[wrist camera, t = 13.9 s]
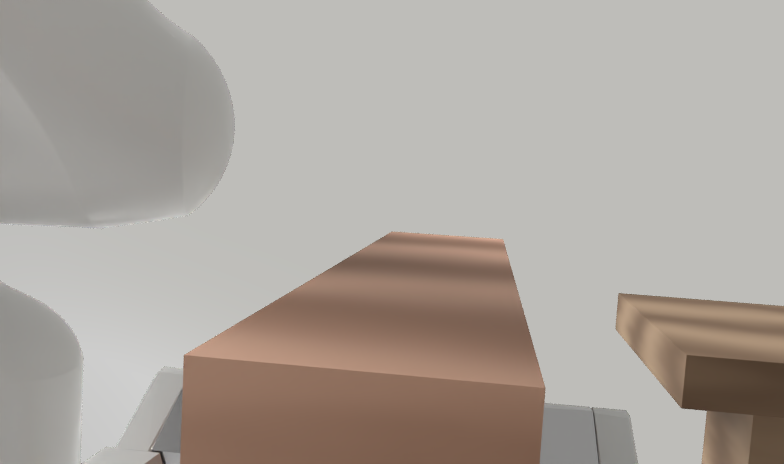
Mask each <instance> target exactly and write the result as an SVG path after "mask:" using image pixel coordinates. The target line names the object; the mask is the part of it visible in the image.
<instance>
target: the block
mask: <svg viewBox="0 0 784 464" xmlns="http://www.w3.org/2000/svg"><path fill="white" fill-rule="evenodd" d="M544 399H545V385H544V382H543V378H542V374H541V371H540V367H539V364H538V360H537V357H536V354H535V350H534V347H533V343H532V340H531V336H530V332H529V329H528V326H527V322H526V319H525V315H524V311H523V308H522V304H521V301H520V297H519V294H518V290H517V287H516V283H515V280H514V276H513V273H512V269H511V266H510V262H509V259H508V255H507V252H506V248H505V244H504V241H503V239H493V238H477V237H463V236H449V235H433V234H419V233H405V232H391V233H389V234H387V235H386V236H384V237H382V238H380V239H379V240H377V241H375V242H374V243H372V244H370V245H369V246H367V247H365V248H364V249H362V250H360V251H359V252H357V253H355V254H354V255H352V256H350V257H348V258H347V259H345V260H343V261H342V262H340V263H338V264H337V265H335V266H333V267H332V268H330V269H328V270H327V271H325V272H323V273H322V274H320V275H318V276H316V277H315V278H313V279H311V280H310V281H308V282H306V283H305V284H303V285H301V286H300V287H298V288H296V289H294V290H293V291H291V292H289V293H288V294H286V295H284V296H283V297H281V298H279V299H278V300H276V301H274V302H273V303H271V304H269V305H268V306H266V307H264V308H262V309H261V310H259V311H257V312H256V313H254V314H252V315H251V316H249V317H247V318H246V319H244V320H242V321H241V322H239V323H237V324H236V325H234V326H232V327H231V328H229V329H227V330H225V331H224V332H222V333H220V334H219V335H217V336H215V337H214V338H212V339H210V340H209V341H207V342H205V343H204V344H202V345H200V346H198V347H197V348H195V349H193V350H192V351H190V352H188V353H187V354H185V355H184V366H183V393H182V421H181V448H180V464H540V451H541V438H542V425H543V412H544Z"/></svg>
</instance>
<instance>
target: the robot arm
mask: <svg viewBox="0 0 784 464" xmlns="http://www.w3.org/2000/svg"><path fill="white" fill-rule="evenodd" d="M234 120H235V119H234V111H233V104H232V100H231V96H230V92H229V89H228V86H227V84H226V81H225V79H224V77H223V75H222V73H221V71H220V69H219V67H218V65H217V64H216V62H215V61H214V59H213V58H212V56H211V55H210V54H209V52H208V51H207V50H206V49H205V47H204V46H203V45H202V44H201V43H200V42H199V41H198V40H197V39H196V38H195V37H194V36H192V35H191V34H189V33H187V32H186V31H185V30H183V29H182V28H180V27H179V26H177V25H176V24H175V23H173V22H172V21H171V20H169V19H168V18H167V17H165V16H164V15H163V14H162V13H161V12H160V11H159V10H158V9H156V8H155V7H154V6H153V5H152V4H151V3H150V2H149V1H147V0H0V224H13V225H37V226H59V227H82V228H106V227H114V226H123V225H130V224H138V223H146V222H152V221H158V220H164V219H170V218H177V217H183V216H188V215H190V214H191V213H192V212H194V211H195V210H196V209H197V208H198V207H199V206H200V205H201V204H202V203H203V202H204V201H205V200H206V199H207V198H208V197H209V196H210V194H211V193H212V192H213V190H214V189H215V188H216V186H217V184H218V183H219V181H220V180H221V178H222V176H223V174H224V172H225V170H226V167H227V165H228V162H229V159H230V156H231V151H232V147H233V142H234V130H235V129H234V127H235V126H234V125H235V123H234V122H235V121H234ZM82 390H83V353H82V350H81V347H80V344H79V342H78V339H77V337H76V336H75V334H74V332H73V331H72V329H71V328H70V326H69V325H68V324H67V323H66V322H65V320H64V319H63V318H61V316H60V315H59V314H57V313H56V312H55V311H54V310H53V309H51V308H50V307H49V306H47V305H45V304H44V303H42V302H40V301H39V300H37V299H35V298H33V297H31V296H29V295H27V294H24V293H22V292H20V291H18V290H16V289H14V288H12V287H10V286H8V285H6V284H5V283H3V282H2V281H0V464H180V448H181V421H182V393H183V369H182V368H173V367H163V368H162V369H161V370H160V371H159V372H158V373H157V374H156V375H155V377H154V379H153V381H152V382H151V384H150V386H149V388H148V390H147V391H146V393H145V395H144V397H143V399H142V400H141V402H140V404H139V406H138V407H137V409H136V411H135V413H134V415H133V417H132V418H131V420H130V422H129V424H128V426H127V427H126V429H125V431H124V433H123V435H122V436H121V438H120V440H119V442H118V444H117V445H116V447H115V448H114V447H105V448H104V449H102V450H101V451H99V452H98V453H96V454H95V455H93V456H92V457H90V458H89V459H87V460H86V461H84V462H83V463H81V430H82V429H81V428H82V392H83V391H82ZM540 464H638V461H637V455H636V449H635V443H634V437H633V432H632V425H631V419H630V415H629V414H628V412H627V411H626V410H617V409H606V408H594V407H592V408H590V407H585V406H572V405H561V404H549V403H544V412H543V425H542V438H541V451H540Z"/></svg>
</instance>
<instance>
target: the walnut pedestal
mask: <svg viewBox="0 0 784 464" xmlns="http://www.w3.org/2000/svg"><path fill="white" fill-rule="evenodd" d="M616 330H617V331H618V333H619V334H620V335H621V336H622V337H623V339H624V340H625V341H626V342H627V343H628V345H629V346H630V347H631V348H632V349H633V351H634V352H635V353H636V354H637V355H638V357H639V358H640V359H641V360H642V361H643V363H644V364H645V365H646V366H647V367H648V369H649V370H650V371H651V372H652V374H653V375H654V376H655V377H656V378H657V379H658V381H659V382H660V383H661V384H662V386H663V387H664V388H665V389H666V390H667V392H668V393H669V394H670V395H671V396H672V398H673V399H674V400H675V401H676V402H677V404H678V405H679V406H680V407H681V408H684V409H695V410H705V411H707V415H706V425H705V436H704V445H703V455H702V464H784V306H775V305H763V304H749V303H737V302H723V301H712V300H698V299H686V298H672V297H660V296H647V295H634V294H621V293H619V295H618V306H617V318H616Z"/></svg>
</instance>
